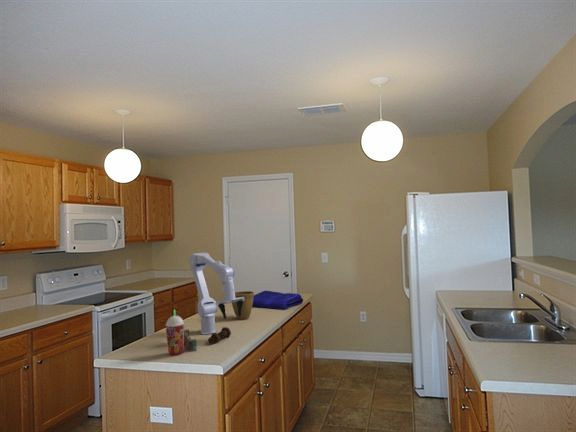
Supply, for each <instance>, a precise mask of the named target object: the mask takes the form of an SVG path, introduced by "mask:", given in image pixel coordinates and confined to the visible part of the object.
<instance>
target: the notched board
mask: <svg viewBox="0 0 576 432" xmlns="http://www.w3.org/2000/svg"><path fill="white" fill-rule="evenodd" d="M184 344H185V345H186V347H187V350H188V351H189V352H194V351H197V339H196V338H194V339H193V338H191V336H190V329H184Z"/></svg>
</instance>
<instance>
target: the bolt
mask: <svg viewBox="0 0 576 432" xmlns="http://www.w3.org/2000/svg"><path fill="white" fill-rule="evenodd" d="M231 334H232V331H231V329H230V327H227V326H224V327H222V328H221V330H220V331H219V332H217V333H211V336H210V337H209V338H208V339H207V343H208V344H210V345H212V344H219V342H220V341H221V340H222V339H223V338H226V339H227V338H230V336H231Z"/></svg>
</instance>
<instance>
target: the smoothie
mask: <svg viewBox="0 0 576 432" xmlns="http://www.w3.org/2000/svg"><path fill="white" fill-rule="evenodd" d="M165 330H166V331H165V333H166V341H167V351H168V354H169V355H170V356H173V355H175V356H179V355H182V354H183V352H184V350H185V349H184V348H185V345H184V344H185V342H184V330H185V321H184V320H183V318H182V317H181V316H180V315H176V309H174V310H173V315H172V316H170V317H169V318H168V319H167V320H166V323H165Z"/></svg>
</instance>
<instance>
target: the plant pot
mask: <svg viewBox="0 0 576 432" xmlns="http://www.w3.org/2000/svg"><path fill="white" fill-rule="evenodd" d="M254 295H255V293H254V291H251V290H250V291H249V290H246V291H245V290H244V291H243V290H242V291H235V298H239V297H244V301H243V305H242V308H241V316H238V308H237V302H233V301H230V302H233V303H231V306H232V309H233V311H234V314H235V317H236V319H237V321H239V320H240V321H244V320H249V319H250V316H251V314H252V308H253V307H252V304H253V297H254Z"/></svg>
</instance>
